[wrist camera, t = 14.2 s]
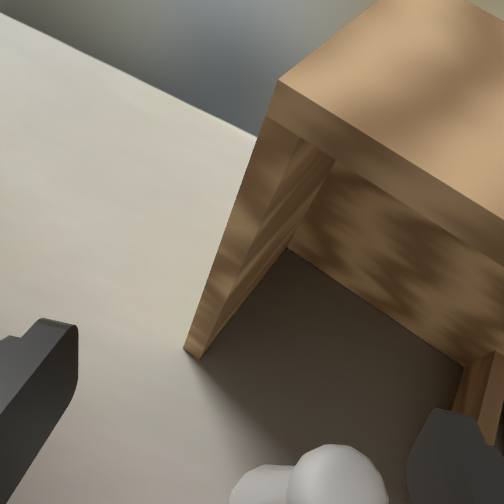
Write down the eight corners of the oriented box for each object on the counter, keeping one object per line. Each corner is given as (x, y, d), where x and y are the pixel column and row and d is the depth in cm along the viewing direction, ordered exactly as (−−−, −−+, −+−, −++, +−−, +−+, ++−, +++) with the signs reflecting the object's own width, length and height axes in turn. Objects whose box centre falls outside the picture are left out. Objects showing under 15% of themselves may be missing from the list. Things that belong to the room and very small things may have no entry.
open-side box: (183, 348, 34) (278, 79, 15) (281, 228, 43) (414, -29, 24) (436, 536, 31) (943, 493, 12) (482, 364, 40) (809, 191, 21)
